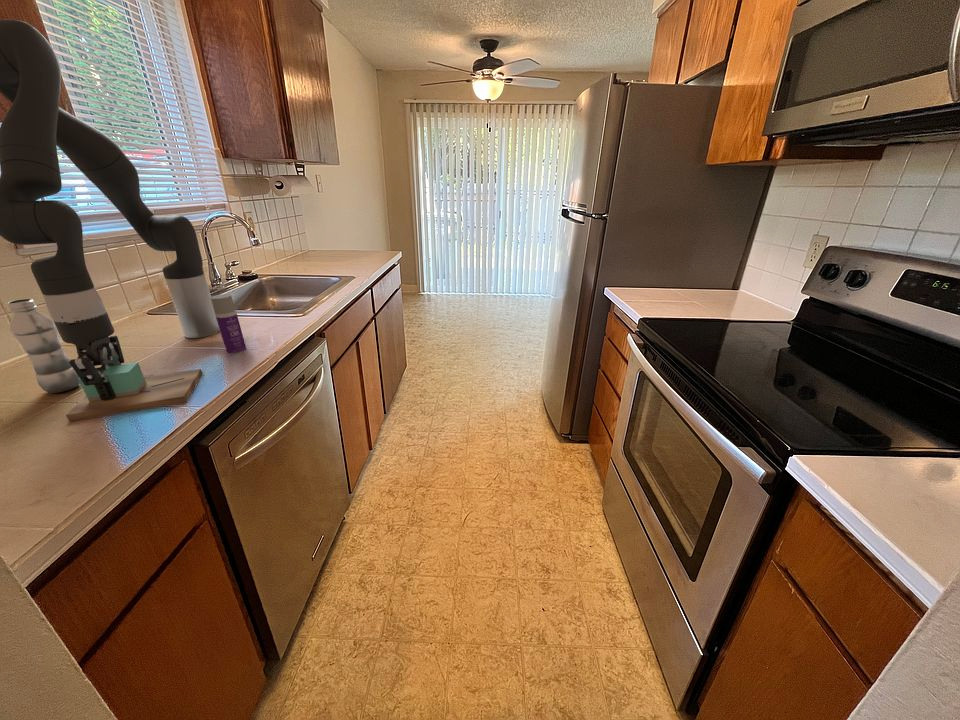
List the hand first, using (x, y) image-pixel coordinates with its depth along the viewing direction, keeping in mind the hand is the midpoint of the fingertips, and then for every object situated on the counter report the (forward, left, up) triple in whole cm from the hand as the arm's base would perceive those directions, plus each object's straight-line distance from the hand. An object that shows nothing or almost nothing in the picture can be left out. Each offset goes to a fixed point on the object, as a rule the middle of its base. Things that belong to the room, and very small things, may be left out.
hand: (114, 392), depth 82 cm
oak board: (0, +4, -2) cm, 5 cm away
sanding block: (0, +1, 0) cm, 1 cm away
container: (-20, +19, -2) cm, 28 cm away
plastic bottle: (-10, -13, -2) cm, 17 cm away
